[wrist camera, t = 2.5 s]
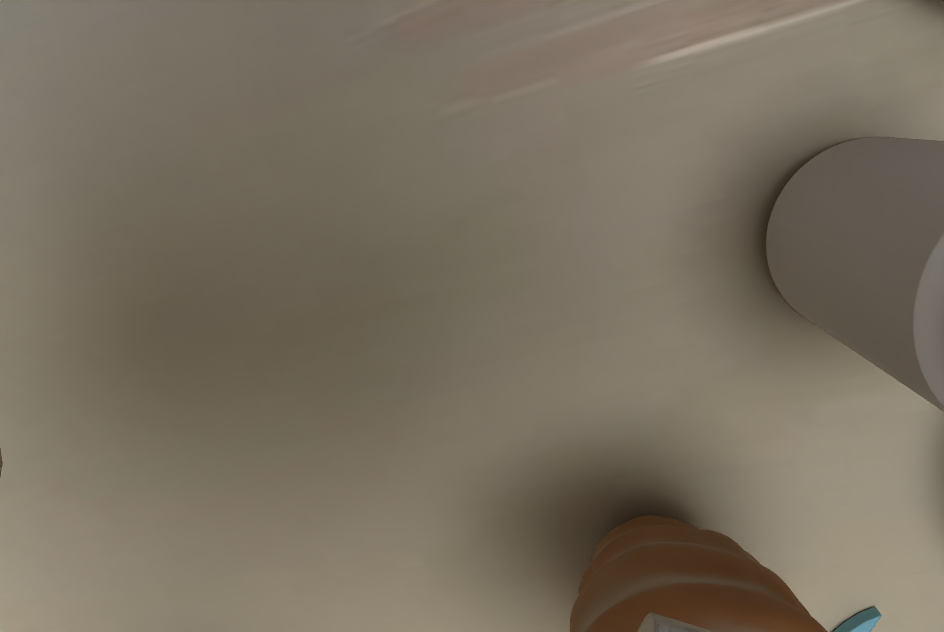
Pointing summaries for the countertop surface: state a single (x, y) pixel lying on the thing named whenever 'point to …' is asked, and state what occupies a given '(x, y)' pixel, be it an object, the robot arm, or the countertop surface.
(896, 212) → the beverage can
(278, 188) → the countertop surface
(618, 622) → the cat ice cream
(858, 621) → the decorative object
